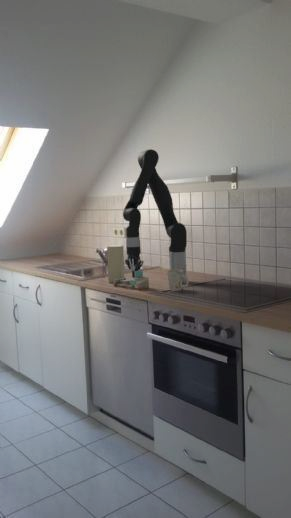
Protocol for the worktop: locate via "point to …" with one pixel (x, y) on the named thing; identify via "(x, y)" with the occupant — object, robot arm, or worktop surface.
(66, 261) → the worktop surface
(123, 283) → the track
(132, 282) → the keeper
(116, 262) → the toy refrigerator
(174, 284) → the mug
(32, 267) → the worktop surface
